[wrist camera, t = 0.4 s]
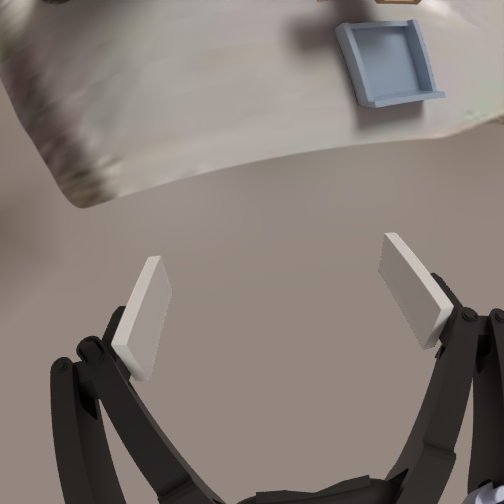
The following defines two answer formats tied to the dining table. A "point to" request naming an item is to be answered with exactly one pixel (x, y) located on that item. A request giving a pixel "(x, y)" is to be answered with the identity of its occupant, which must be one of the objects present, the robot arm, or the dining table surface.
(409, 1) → the lever
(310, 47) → the dining table surface
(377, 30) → the tray
